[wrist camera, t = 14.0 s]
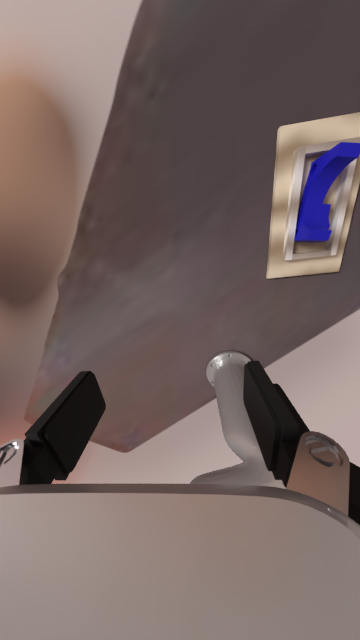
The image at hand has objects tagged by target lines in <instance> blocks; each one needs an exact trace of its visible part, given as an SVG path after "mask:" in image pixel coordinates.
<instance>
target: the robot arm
mask: <svg viewBox="0 0 360 640" xmlns="http://www.w3.org/2000/svg"><path fill="white" fill-rule="evenodd" d="M206 375H207V379H208V381H209V382H210V383H211V384H212V385H213V386H214V387H215V392H216V397H217V403H218V408H219V413H220V418H221V424H222V429H223V434H224V438H225V440H226V442H227V444H228V446H229V447H230V448H231V449H232V451H233V452H234V453H235V454H236V455H237V456H238V457H239V458H241V459H242V460H243V461H244V462H243V463H241V464H238V465H235V466H232V467H228V468H224V469H220V470H216V471H212V472H209V473H205V474H202V475H199V476H197V477H196V478H194V479H193V480H192V481H191V482H190V484H51V483H52V481H53V480H54V478H55V480H66V479H67V477H68V475H69V473H70V472H72V471H73V469H74V468H75V466H76V464H77V462H78V460H79V458H80V456H81V454H82V453H83V451H84V449H85V447H86V445H87V443H88V441H89V439H90V437H91V436H92V434H93V432H94V430H95V428H96V426H97V424H98V422H99V420H100V418H101V416H102V415H103V413H104V411H105V408H106V404H105V401H104V398H103V396H102V393H101V390H100V388H99V385H98V382H97V380H96V377H95V375H94V373H92V372H91V371H82V372H80V373H79V374H78V375H77V376H76V377H75V378H74V379H73V380H72V381H71V383H70V384H69V385H68V386H67V387H66V388H65V389H64V390H63V392H62V393H61V394H60V395H59V396H58V397H57V398H56V399H55V401H54V402H53V403H52V404H51V405H50V406H49V407H48V408H47V410H46V411H45V412H44V413H43V414H42V415H41V416H40V417H39V419H38V420H37V421H36V422H35V423H34V424H33V425H32V426H31V428H30V429H29V430H28V431H27V432H26V433H25V436H26V437H27V438H26V439H25V440H24V441H23V440H22V439H14V440H11V441H8V442H6V443H5V444H3V445H1V446H0V640H360V467H358V466H356V465H355V464H353V463H351V462H349V458H348V456H347V454H346V452H345V451H344V450H343V448H342V447H341V446H340V445H339V444H338V443H336V442H335V441H334V440H333V439H331V438H330V437H328V436H326V435H324V434H321V433H319V432H313V431H311V432H310V431H309V429H308V427H307V426H306V425H305V423H304V422H303V420H302V419H301V417H300V415H299V414H298V413H297V411H296V409H295V408H294V406H293V405H292V404H291V402H290V400H289V399H288V397H287V396H286V394H285V393H284V391H283V390H282V388H281V387H280V386H279V385H278V384H273V383H272V382H271V380H270V378H269V377H268V375H267V374H266V372H265V370H264V369H263V367H262V366H261V364H260V362H259V361H251V360H250V359H249V357H247V356H246V355H245V354H243V353H240V352H237V351H226V352H222V353H219V354H218V355H216V356H214V357H213V358H212V359H211V360H210V361H209V363H208V365H207V368H206Z"/></svg>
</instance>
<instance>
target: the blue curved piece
mask: <svg viewBox="0 0 360 640" xmlns="http://www.w3.org/2000/svg"><path fill="white" fill-rule="evenodd" d="M359 155H360V143H352V142H340V143H339V144H337V145H336V146H335V147H333V148H332V149H330V150H329V151H328V152H326V153H325V154H323V155H322V156H320V157H319V158H318V159H316V160H315V161H313V162H312V164H311V167H310V171H309V174H308V178H307V181H306V185H305V188H304V192H303V196H302V199H301V203H300V206H299V210H298V215H297V223H296V230H295V238H294V241H296V242H311V243H316V242H324V241H328V240H329V237H330V235H331V232H332V230H329V227H330V223H329V211H330V207H331V204H323V201H324V199H325V196H326V194H327V192H328V190H329V188H330V187H331V185H332V184H333V182H334V181H335V179H336V178H337V176H338V175H339V174H340V173H341V172H342V171H343V169H344V168H345V167H346V166H348V165H349V164H350V163H351V162H352V161H354V160H355V159H357V158H358V157H359Z"/></svg>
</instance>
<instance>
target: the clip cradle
mask: <svg viewBox="0 0 360 640" xmlns="http://www.w3.org/2000/svg"><path fill="white" fill-rule="evenodd" d="M340 142H352V143H360V112H359V113H353V114H347V115H342V116H336V117H331V118H325V119H319V120H314V121H308V122H302V123H297V124H291V125H285V126H280V128H279V129H278V135H277V148H276V161H275V174H274V187H273V200H272V213H271V226H270V239H269V252H268V265H267V278H268V279H270V278H280V277H289V276H299V275H309V274H319V273H329V272H338V271H339V269H340V265H341V261H342V256H343V252H344V248H345V243H346V239H347V235H348V230H349V226H350V222H351V217H352V213H353V209H354V204H355V200H356V196H357V191H358V187H359V183H360V155H359V157H358V158H357V159H355V160H354V161H352V162H351V163H350V164H349V165H348V166H346V167H345V168H344V169H343V171H342V172H341V173H340V174H339V175H338V176H337V178H336V179H335V181H334V182H333V184H332V185H331V187H330V188H329V190H328V192H327V194H326V196H325V199H324V201H323V204H331V207H330V211H329V223H330V227H329V230H332V232H331V235H330V237H329V240H328V241H324V242H316V243H311V242H296V241H294V238H295V230H296V223H297V215H298V210H299V206H300V203H301V199H302V196H303V192H304V188H305V185H306V181H307V178H308V174H309V171H310V167H311V164H312V162H313V161H315V160H316V159H318V158H319V157H320V156H322V155H323V154H325V153H326V152H328V151H329V150H330V149H332V148H333V147H335V146H336V145H337V144H339V143H340Z"/></svg>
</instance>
